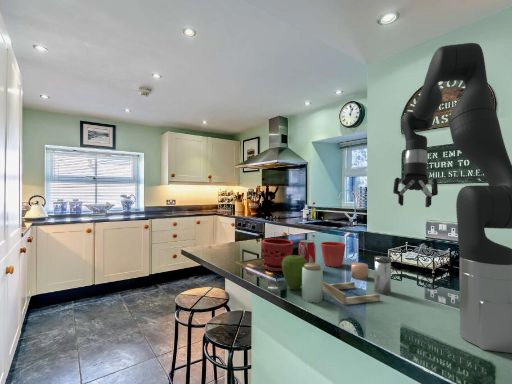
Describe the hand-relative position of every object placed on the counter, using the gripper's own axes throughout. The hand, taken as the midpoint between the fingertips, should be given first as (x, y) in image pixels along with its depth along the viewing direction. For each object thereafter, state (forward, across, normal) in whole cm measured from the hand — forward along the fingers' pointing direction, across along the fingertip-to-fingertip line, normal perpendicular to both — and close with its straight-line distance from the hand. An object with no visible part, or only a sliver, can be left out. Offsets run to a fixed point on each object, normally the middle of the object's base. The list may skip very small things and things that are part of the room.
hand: (414, 206), depth 101 cm
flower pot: (+28, -28, +16) cm, 43 cm away
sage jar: (+32, -33, -28) cm, 54 cm away
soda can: (+29, -38, +5) cm, 48 cm away
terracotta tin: (+28, -18, 0) cm, 34 cm away
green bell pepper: (+32, -39, -20) cm, 55 cm away
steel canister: (+30, -12, -14) cm, 35 cm away
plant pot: (+30, -50, +1) cm, 58 cm away
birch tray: (+31, -22, -21) cm, 44 cm away
